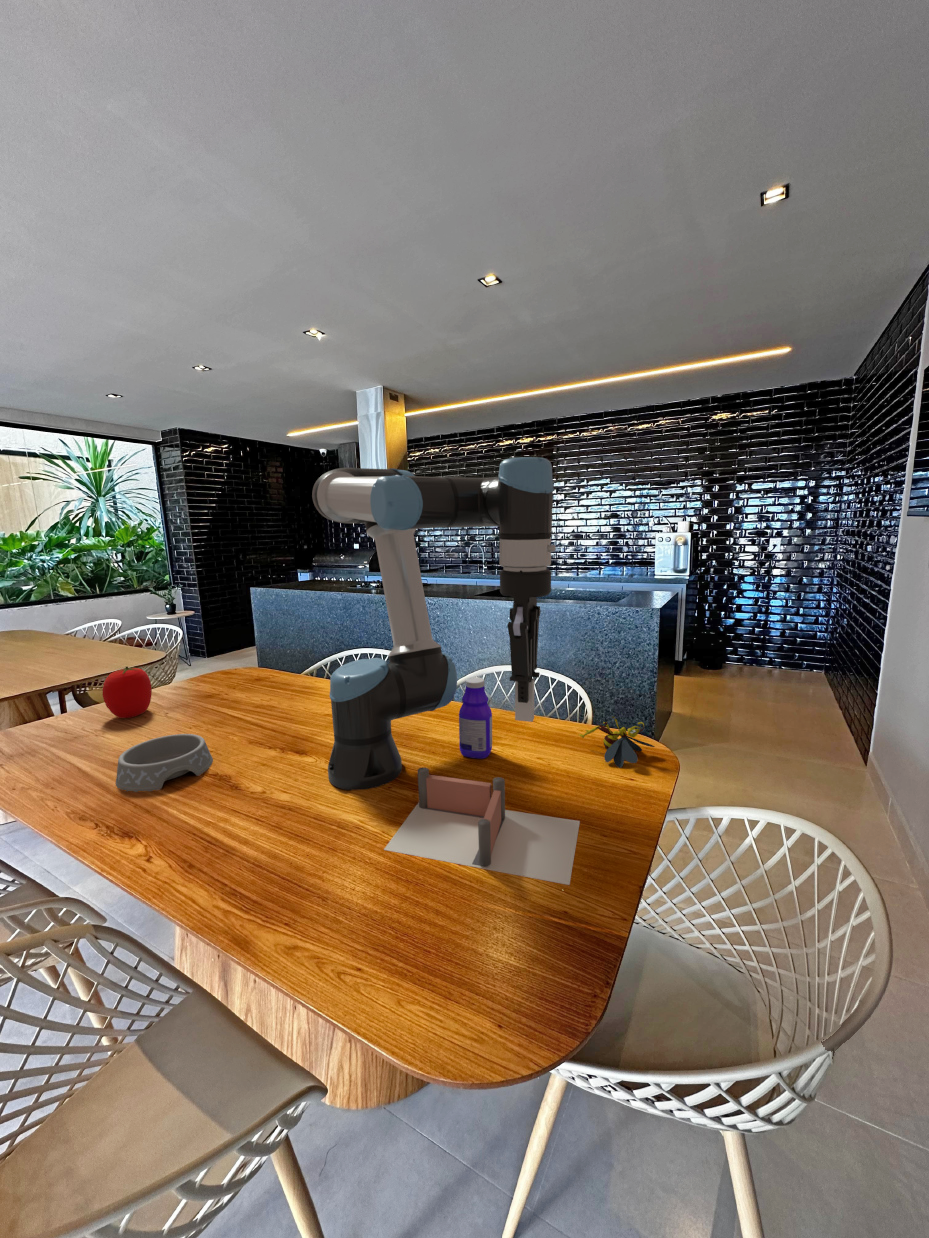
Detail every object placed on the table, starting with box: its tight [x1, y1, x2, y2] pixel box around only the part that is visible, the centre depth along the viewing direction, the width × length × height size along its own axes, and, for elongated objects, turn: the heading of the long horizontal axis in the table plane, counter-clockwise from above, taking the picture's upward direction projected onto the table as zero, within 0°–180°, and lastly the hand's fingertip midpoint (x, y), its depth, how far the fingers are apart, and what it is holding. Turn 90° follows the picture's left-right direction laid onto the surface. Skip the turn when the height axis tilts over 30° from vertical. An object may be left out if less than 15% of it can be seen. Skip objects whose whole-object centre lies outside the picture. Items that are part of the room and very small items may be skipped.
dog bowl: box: [115, 733, 214, 793], centre depth 109 cm, size 17×18×5 cm
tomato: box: [102, 665, 153, 719], centre depth 141 cm, size 13×11×14 cm
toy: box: [578, 716, 655, 769], centre depth 111 cm, size 12×8×15 cm
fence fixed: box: [417, 766, 506, 820], centre depth 90 cm, size 16×2×7 cm, turn 72°
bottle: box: [458, 676, 493, 760], centre depth 111 cm, size 7×6×17 cm
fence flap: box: [478, 790, 501, 866], centre depth 80 cm, size 12×2×7 cm, turn 166°
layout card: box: [383, 802, 581, 886], centre depth 83 cm, size 29×16×1 cm, turn 72°
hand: (524, 718), depth 79 cm, fingers closed
